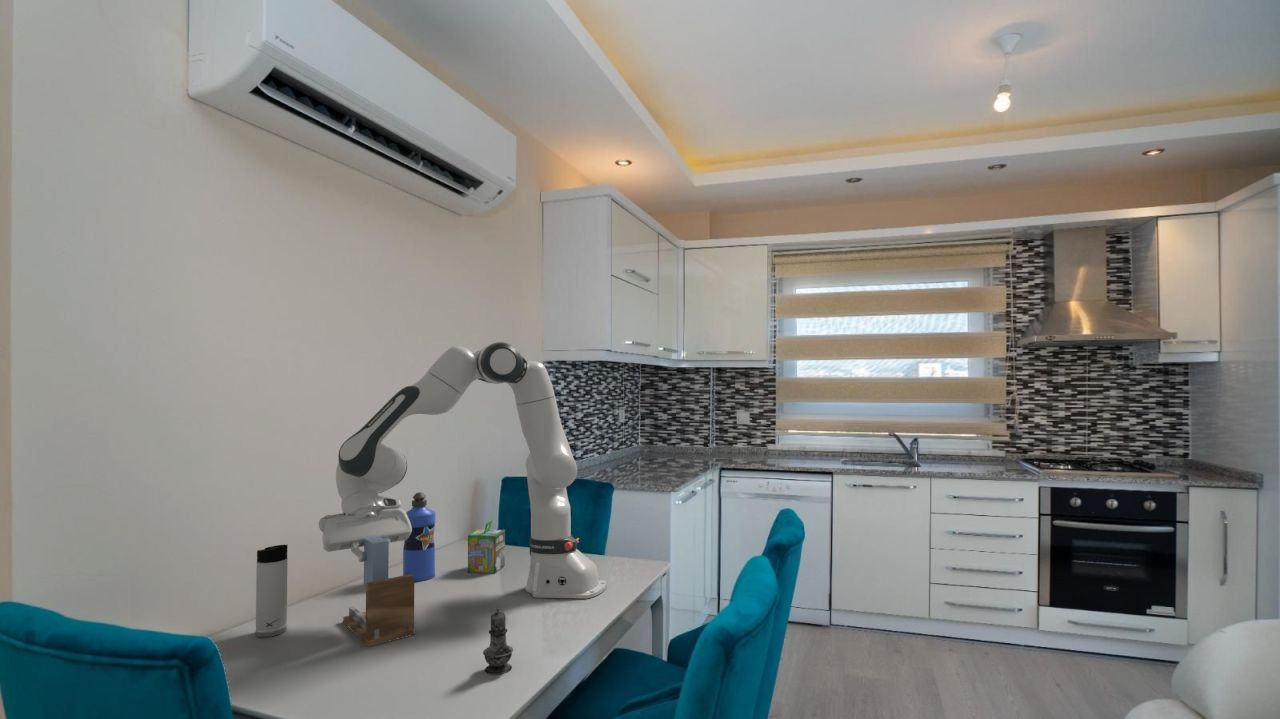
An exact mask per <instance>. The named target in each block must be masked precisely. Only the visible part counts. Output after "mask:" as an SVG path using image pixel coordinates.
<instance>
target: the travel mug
mask: <svg viewBox="0 0 1280 719" xmlns="http://www.w3.org/2000/svg"><path fill="white" fill-rule="evenodd" d="M288 548H289V547H288V544H278V545H273V546H272V545H271V546H268V547H267V546H266V547H265V548H264V549H258V550H257V551H256V572H255V573H256V574H255V575H256V576H255V578H256V579H255V580H256V581H255V582H256V583H255V589H256V590H255V636H256V637H258V638H262V637H265V638H271V637H272V636H273V637H276V635H277V636H280V635H282V634H284V633H285V632H286V631H287V630H288V624H287V622H288V559H289V558H288ZM279 634H280V635H279Z"/></svg>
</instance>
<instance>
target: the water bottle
mask: <svg viewBox="0 0 1280 719" xmlns="http://www.w3.org/2000/svg"><path fill="white" fill-rule="evenodd" d="M426 498H427V496H426V495H425V493H423V492H416V493H415V494H414V495H413V496H412V500H411V508H410V510H408V511H405V512H406V514H407V516H408V518H409V520H410V523H411V526H412V532H411V534H410V536H409V538H408V539H407V540H403V541H404V543H403V548H402V549H403V550H402V552H403V553H402V576H404V575H409V574H412V575H414V583H418V582H425V581H429V580H432V579H434V578H435V577H436V547H435V539H434V533H435V528H436V526H435V525H436V511H435V510H433V509H430V508H428V507H427V503H428V502H427V499H426Z"/></svg>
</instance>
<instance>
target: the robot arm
mask: <svg viewBox="0 0 1280 719" xmlns="http://www.w3.org/2000/svg"><path fill="white" fill-rule="evenodd" d="M477 380H479V381H482V382H485V383H487V384H493V385H495V384H496V385H499V384H503V383H506V384H508V386H509V387H510V388H511V390H512V393H513V394H514V399H515V400H514V401H515V406H516V409H517V413H518V419H519V423H520V428H521V432H522V435H523V437H524V439H525V442H526V444H527V448H528V450H529V453H528V455H527V458H526V460H525V469H526V478H527V479H526V481H527V489H528V497H529V503H530V532H531V533H530V537H529V556H530V560H529V562H530V563H529V571H528V577H527V580H526V584H525V590H526V592H528V593H530V594H531V595H532V597H533V598H538V599H539V598H540V599H541V598H545V599H548V598H549V599H581V600H582V599H590V598H593V597H596V596H598V595H600V594H602V593H603V592H604V591H605V590H606V589H607V586H608V585H607V582H606V580H602V579H599V578H600V577H599V572H598V567H597V565H596V563H595V562H593V560H591V559H590V558H588V557H587V556H586V555H585V554H583V553H582V552H581V551H580V550H579V549H577V548H578V543H580V541H579V540H580V538H579V537H577V538H575V537H574V536H573V535H572V534H571V531H572V530H571V525H572V524H571V523H572V522H571V519H572V518H571V504H570V501H569V497H568V491H567V487H570V486H571V484H572V483H573V482H574V481H575V480H576V478H577V475H578V465H577V463H576V460H575V458H574V455H573V452H572V450H571V447H570V443H569V441H568V438H567V435H566V433H565V430H564V427H563V425H562V421H561V418H560V417H561V416H560V412H559V408H558V403H557V399H556V396H555V395H556V394H555V390H554V387H553V383H552V380H551V378H550V375H549V373H548V370H547V367H546V365H544V364H543V363H542V362H540V361H536V360H526V359H525V357H523V355H522V353H520V352H519V350H517V349H516V348H515V347H514V346H513V345H511V344H510V343H507V342H502V341H500V342H499V341H498V342H494V343H490V344H487V345H485V346H484V347H483V348H482V349H479V350H478V351H472V350H470V349H468V348H467V347H464V346H461V345H454V346H450V347H449V348H447V350H445V351H444V352H443V353H442V354H441V355H440V356H439V357H438V358H437V359H436V361H435V362H433V364H432V365H431V366H430V368H429V369H428V370H427V372H426V373H425V374H423V376H422V377H421V378H420V379H419V380H417V382H415V383H413V384H412V385H407V386H405V387H403V388H401V389H400V390H398V391H397V392H396V393H395V394H394V395H393V396H392V397H391V398H390V399H389V400H388V401H387V402H386V403H385V404H384V405H383V406H382V407H381V408H380V409H379V410H378V411H377V412H376V413H375V414H374V415H373V416H372V417H371V418H370V419H369V420H368V421H367V422H366V424H364V425H363V426H361V428H360V429H359V430H358V431H357V432H355V433H354V434H352V435H351V436H350V437H349V438H346V440H345V441H343V443H342V444H341V446H340V447H339V450H338V454H337V455H338V460H337V461H338V463H337V465H336V469H335V481H336V482H335V483H336V488H337V493H338V496H339V497H340V499H341V503H340V504H341V506H340V507H341V510H342V513H336V514H335V513H334V514H326V515H324V517H322V518H320V519H319V521H318V528H319V530H320V531H321V532H322V548H323V550H324V551H326V552H329V553H330V552H337V551H342V550H348V549H350V550H351V553H353V554H354V555H355V556H356V557H357V558H358V562H359V563H364V561H366V559H367V555H366V551H364V550H363V551H362V550H361V549H360V548H362V547H363V548H364V538H371V537H378V536H380V537H382V538H383V539H385V540H387V541H389V544H391V543H396V542H401V541H402V542H403V541H405V540H407V539H408V538H409V536H410V534H411V532H412V526H411V523H410V520H409V518H408V516H407V514H406V512H407V511H405V510H404V509H403V508H401V505H402V503H401V500H400V499H398V498H394V497H393V498H392V497H386V496H382V495H379V494H381V493H384V492H386V491H388V490H390V489H391V488H394V487H395V486H397V485H398V484H400V483H401V482H402V481H403V479H404V478H405V477H406V473H407V471H408V470H407V469H408V461H407V458H406V457H405V455H404V454H402V453H401V452H399V451H397V450H395V449H393V448H391V447H389V446H386V445H385V444H383V443H382V442H383V441H384V440H385V438H386V437H388V435H390V433H391V432H393V430H394V429H395V428H396V427H397V426H398V425H399V424H400V423H401V422H402V421H403V420H404V419H406V418H408V417H409V416H412V415H429V416H435V415H443V414H445V413H448V412H449V411H451V409H453V408H454V407H455V406H456V404H457V403H458V402H459V401H460V399H461V398H462V396H463V395H464V393H465V392H466V390H467V389H468V388H469V386H470V385H472V383H473V382H474V381H477Z"/></svg>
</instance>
